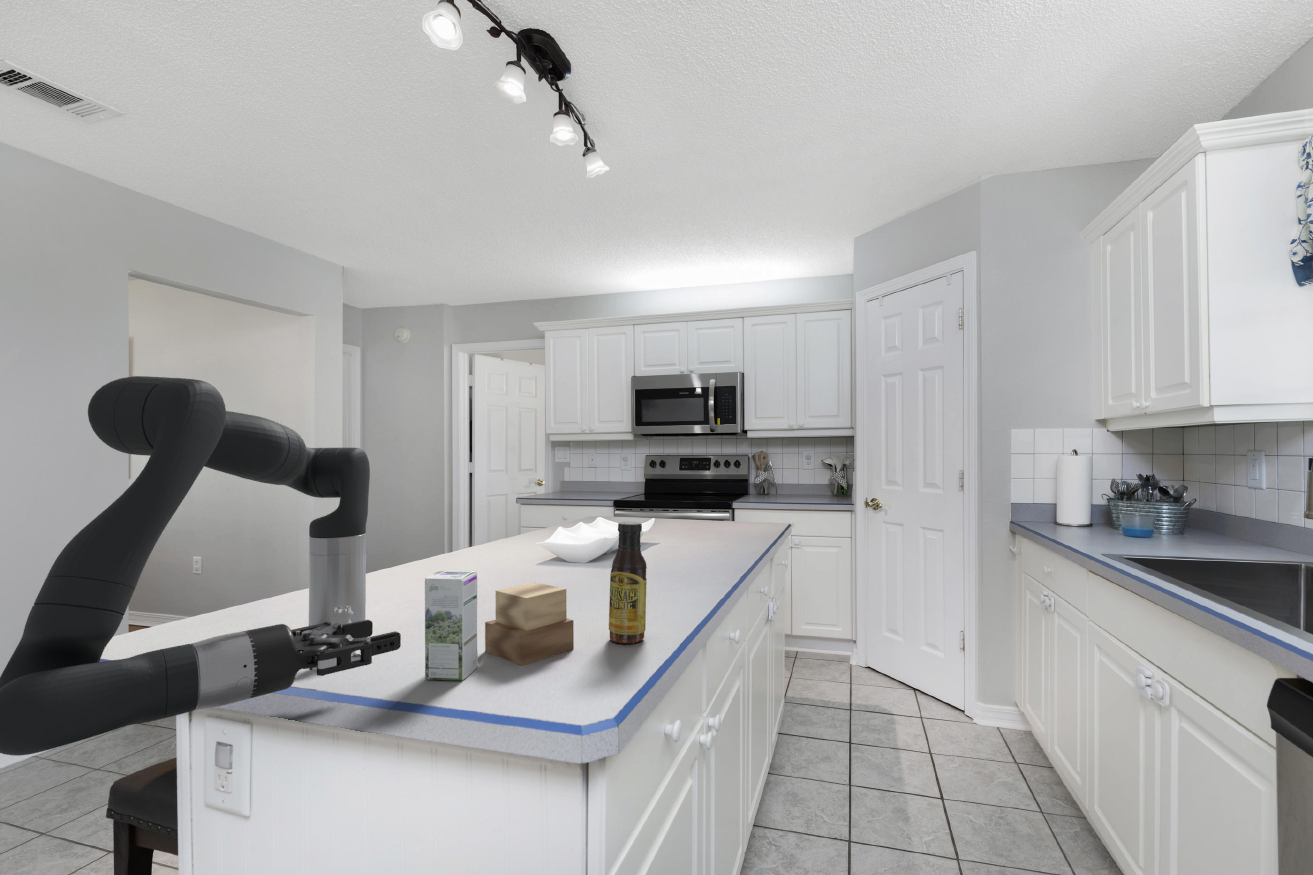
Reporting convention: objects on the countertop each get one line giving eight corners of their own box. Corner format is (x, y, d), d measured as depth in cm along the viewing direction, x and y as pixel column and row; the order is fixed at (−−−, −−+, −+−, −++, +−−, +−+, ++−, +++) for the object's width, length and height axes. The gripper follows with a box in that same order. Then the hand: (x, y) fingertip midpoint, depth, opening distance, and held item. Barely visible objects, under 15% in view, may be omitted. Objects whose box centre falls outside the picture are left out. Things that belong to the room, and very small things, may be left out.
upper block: (495, 621, 98) (495, 590, 98) (535, 611, 104) (535, 582, 104) (526, 630, 93) (526, 597, 93) (566, 619, 99) (566, 588, 99)
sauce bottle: (602, 643, 102) (601, 523, 102) (618, 632, 107) (617, 519, 108) (638, 647, 99) (637, 525, 100) (653, 636, 105) (651, 521, 105)
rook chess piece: (325, 666, 92) (325, 612, 92) (325, 657, 96) (325, 606, 96) (358, 661, 94) (358, 609, 94) (357, 653, 98) (357, 603, 98)
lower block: (485, 653, 98) (485, 621, 98) (535, 638, 105) (535, 609, 105) (522, 667, 91) (522, 633, 91) (573, 651, 99) (573, 619, 99)
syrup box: (479, 667, 91) (478, 569, 91) (462, 682, 85) (462, 577, 85) (442, 666, 91) (442, 569, 92) (423, 681, 85) (423, 576, 86)
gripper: (260, 644, 64) (410, 613, 76) (225, 621, 74) (362, 596, 86) (260, 716, 64) (410, 674, 76) (224, 683, 74) (362, 650, 86)
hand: (384, 633), depth 81 cm, fingers open, 8 cm apart
